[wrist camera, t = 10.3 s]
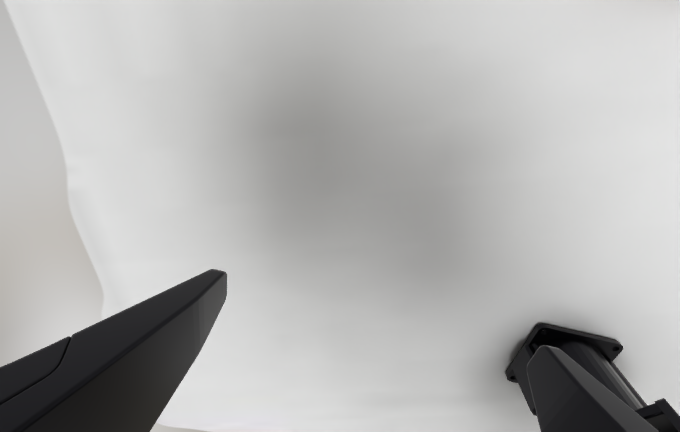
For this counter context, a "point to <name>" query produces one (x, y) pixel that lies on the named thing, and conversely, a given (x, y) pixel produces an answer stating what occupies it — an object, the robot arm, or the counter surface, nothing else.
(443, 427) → the counter surface
